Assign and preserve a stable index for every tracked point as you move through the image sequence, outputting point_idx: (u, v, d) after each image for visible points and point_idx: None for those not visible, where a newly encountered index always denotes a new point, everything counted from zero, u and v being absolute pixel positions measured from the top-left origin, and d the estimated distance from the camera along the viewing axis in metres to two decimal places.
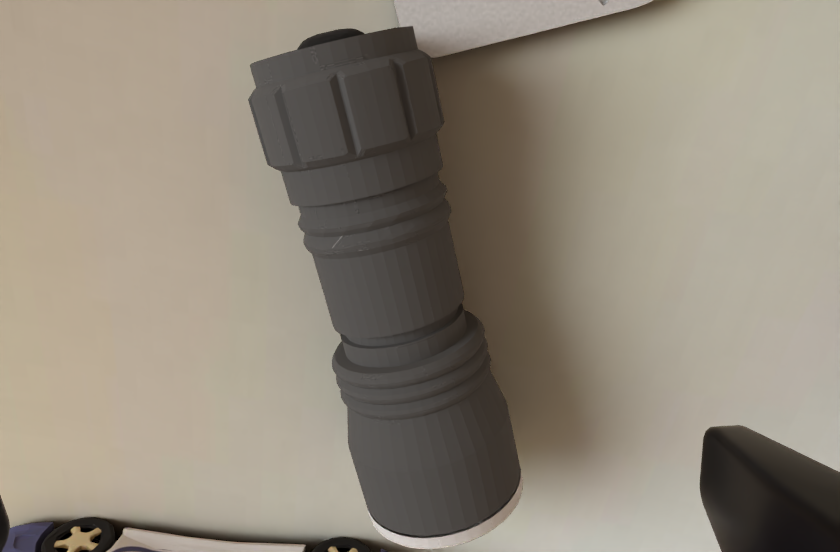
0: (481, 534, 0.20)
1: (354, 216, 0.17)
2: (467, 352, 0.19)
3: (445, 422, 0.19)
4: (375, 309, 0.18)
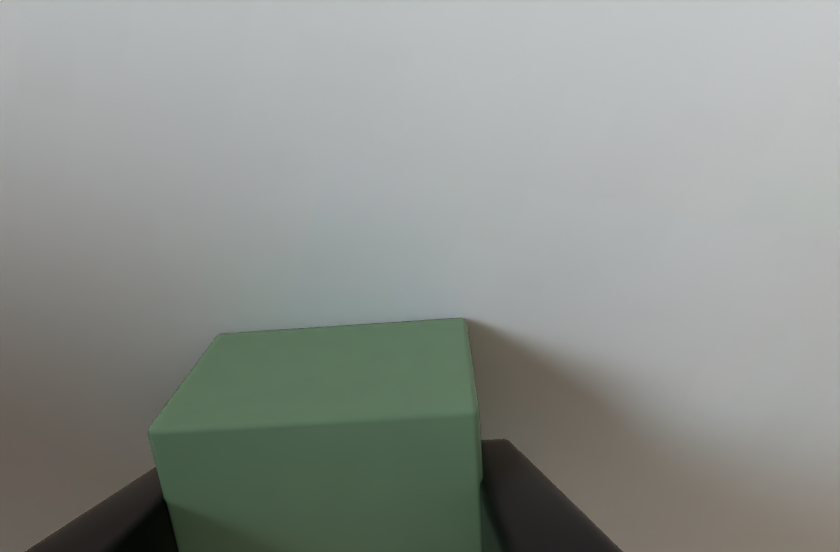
0: None
1: None
2: None
3: None
4: None
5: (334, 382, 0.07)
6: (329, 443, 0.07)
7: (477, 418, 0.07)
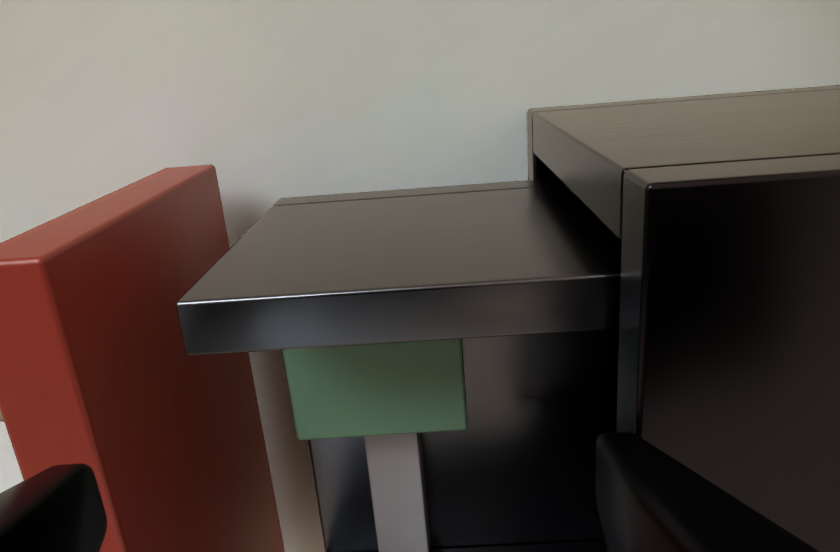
0: None
1: None
2: None
3: None
4: None
5: None
6: None
7: None
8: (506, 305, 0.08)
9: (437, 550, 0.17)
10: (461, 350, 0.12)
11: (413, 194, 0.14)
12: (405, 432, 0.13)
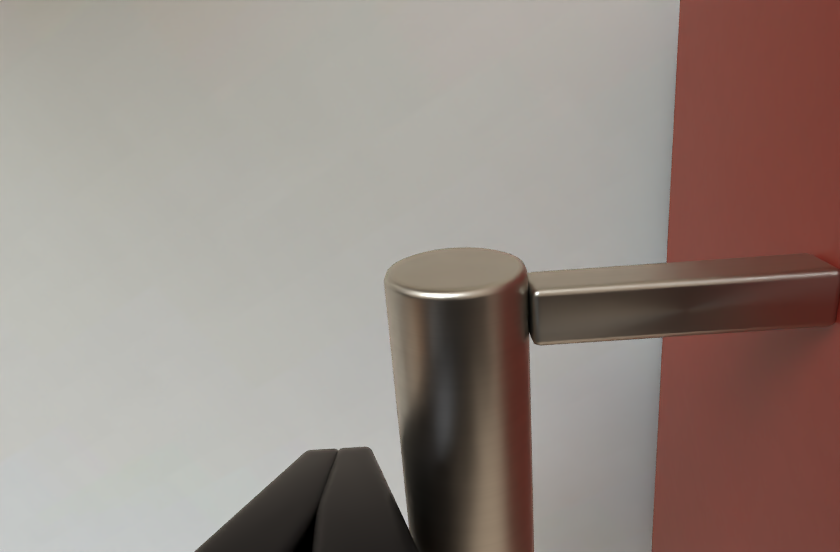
0: None
1: None
2: None
3: None
4: None
5: None
6: None
7: None
8: None
9: None
10: None
11: None
12: None
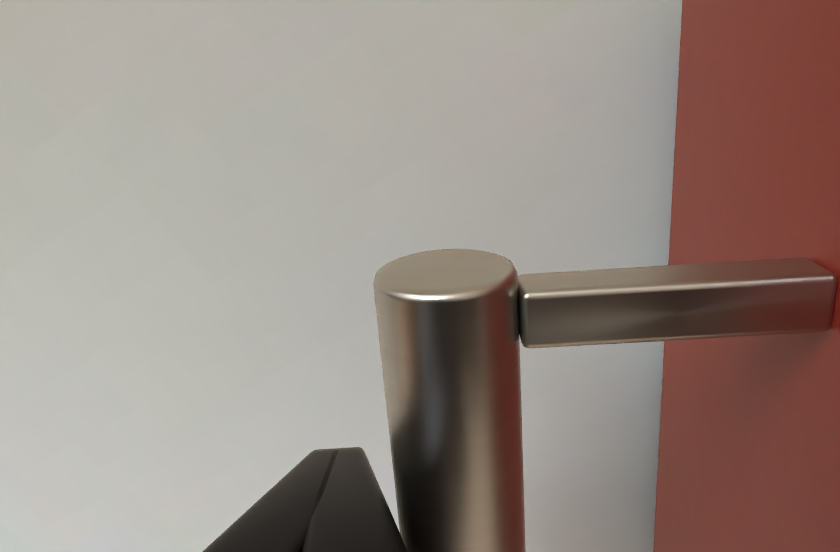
0: None
1: None
2: None
3: None
4: None
5: None
6: None
7: None
8: None
9: None
10: None
11: None
12: None
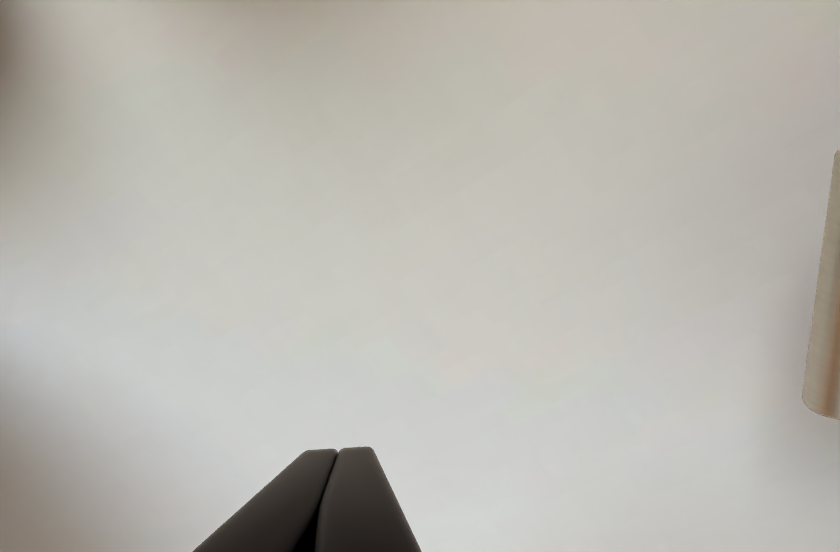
0: None
1: None
2: None
3: None
4: None
5: None
6: None
7: None
8: None
9: None
10: None
11: None
12: None
